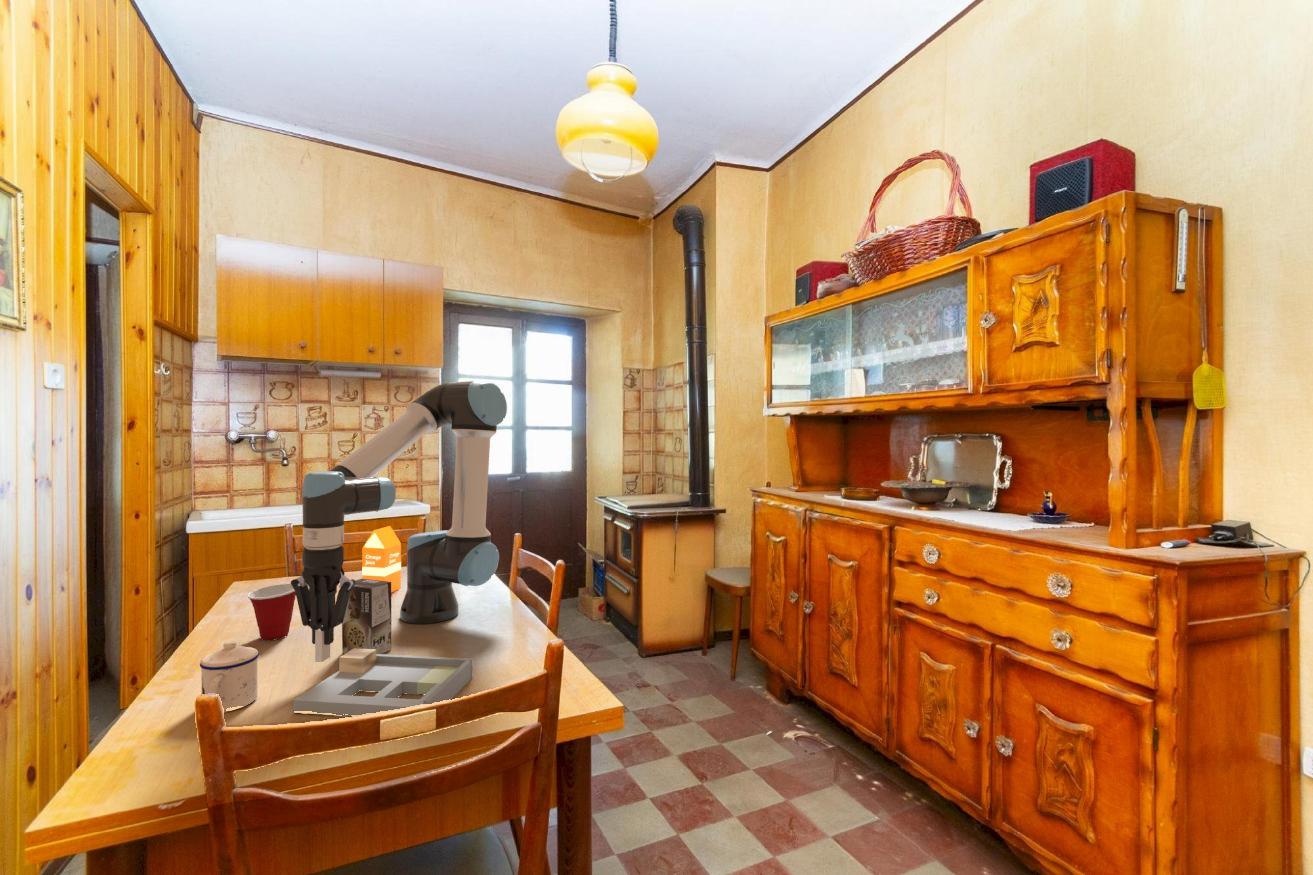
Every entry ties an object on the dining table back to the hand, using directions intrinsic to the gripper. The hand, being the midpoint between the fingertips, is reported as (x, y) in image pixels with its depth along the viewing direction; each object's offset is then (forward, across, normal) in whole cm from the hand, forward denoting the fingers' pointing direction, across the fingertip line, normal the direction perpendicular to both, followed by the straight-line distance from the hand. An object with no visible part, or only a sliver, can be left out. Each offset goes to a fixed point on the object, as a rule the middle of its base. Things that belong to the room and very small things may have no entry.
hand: (322, 659), depth 125 cm
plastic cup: (+4, -27, +21) cm, 35 cm away
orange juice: (+4, -23, +63) cm, 67 cm away
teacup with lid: (+4, -9, -14) cm, 17 cm away
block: (+2, +8, 0) cm, 8 cm away
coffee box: (+4, +1, +15) cm, 16 cm away
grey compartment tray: (+4, +17, -6) cm, 19 cm away
